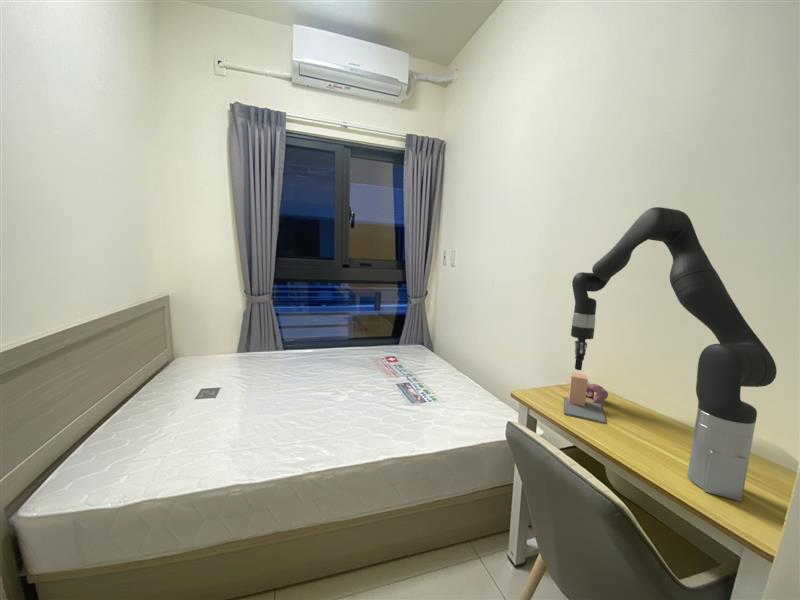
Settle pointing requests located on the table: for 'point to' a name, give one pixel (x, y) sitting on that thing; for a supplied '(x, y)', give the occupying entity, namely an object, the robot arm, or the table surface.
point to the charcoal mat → (585, 411)
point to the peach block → (578, 389)
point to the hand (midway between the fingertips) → (578, 369)
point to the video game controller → (600, 391)
